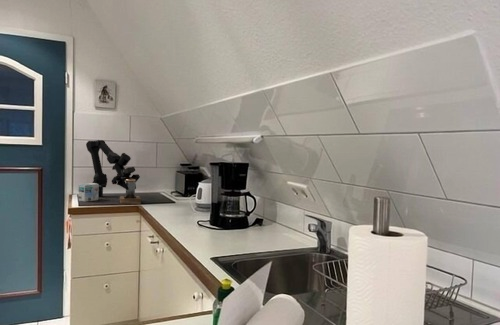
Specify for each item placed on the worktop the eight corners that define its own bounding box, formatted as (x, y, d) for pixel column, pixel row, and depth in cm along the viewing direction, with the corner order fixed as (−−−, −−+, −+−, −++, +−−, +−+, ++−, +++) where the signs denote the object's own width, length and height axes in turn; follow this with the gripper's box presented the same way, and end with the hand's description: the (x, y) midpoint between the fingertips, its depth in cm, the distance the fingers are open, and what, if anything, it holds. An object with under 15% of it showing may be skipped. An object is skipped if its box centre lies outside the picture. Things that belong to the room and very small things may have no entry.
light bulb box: (84, 201, 242) (84, 184, 242) (77, 200, 246) (78, 183, 245) (98, 199, 251) (99, 183, 251) (92, 198, 255) (92, 182, 254)
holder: (119, 201, 250) (119, 196, 250) (138, 200, 254) (139, 195, 254) (120, 204, 239) (120, 199, 239) (140, 203, 243) (140, 198, 243)
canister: (123, 198, 247) (124, 178, 246) (132, 198, 251) (132, 178, 250) (128, 200, 242) (128, 179, 242) (136, 199, 247) (137, 179, 246)
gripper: (114, 163, 239) (125, 182, 234) (138, 162, 255) (149, 180, 250) (106, 174, 244) (117, 193, 239) (130, 172, 260) (140, 190, 255)
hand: (131, 189), depth 245 cm, fingers open, 6 cm apart
